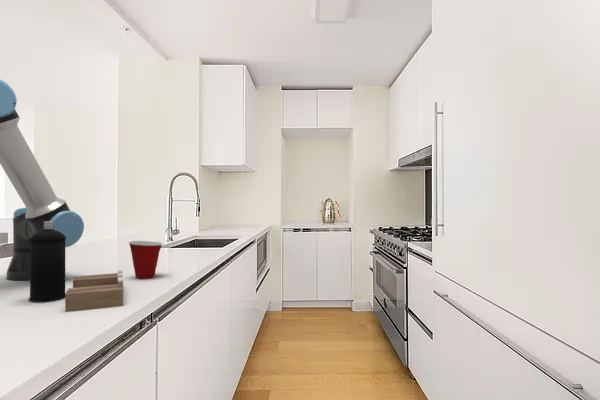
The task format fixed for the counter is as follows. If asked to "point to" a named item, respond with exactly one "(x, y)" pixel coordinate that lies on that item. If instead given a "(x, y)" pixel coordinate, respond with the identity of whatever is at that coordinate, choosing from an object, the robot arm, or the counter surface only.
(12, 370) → the counter surface
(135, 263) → the plastic cup
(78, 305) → the cutout stand
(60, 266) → the aerosol can
